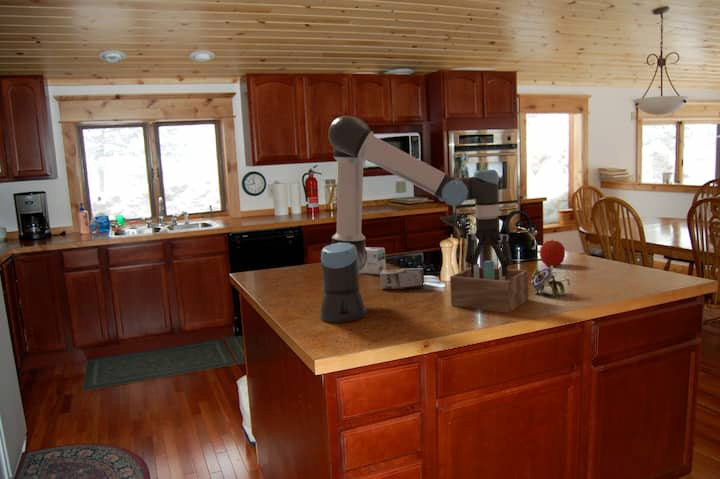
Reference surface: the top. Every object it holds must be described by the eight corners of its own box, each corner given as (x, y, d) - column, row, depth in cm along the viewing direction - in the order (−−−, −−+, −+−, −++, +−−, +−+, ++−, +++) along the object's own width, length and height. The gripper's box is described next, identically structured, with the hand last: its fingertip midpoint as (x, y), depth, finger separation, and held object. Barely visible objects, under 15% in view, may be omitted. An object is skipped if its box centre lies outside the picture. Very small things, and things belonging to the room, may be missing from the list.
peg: (492, 304, 184) (491, 263, 182) (482, 303, 187) (481, 262, 184) (497, 301, 187) (495, 261, 185) (487, 300, 189) (485, 260, 187)
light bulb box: (386, 271, 246) (385, 247, 244) (379, 274, 240) (377, 250, 239) (366, 270, 252) (364, 246, 250) (358, 273, 246) (356, 249, 245)
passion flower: (537, 309, 194) (522, 279, 198) (564, 299, 196) (548, 270, 201) (550, 298, 184) (533, 266, 188) (578, 288, 186) (560, 257, 191)
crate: (508, 312, 174) (507, 281, 173) (451, 305, 186) (450, 276, 185) (528, 299, 187) (527, 270, 186) (473, 293, 200) (472, 266, 198)
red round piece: (568, 267, 230) (568, 240, 229) (544, 268, 231) (544, 241, 229) (560, 262, 240) (560, 236, 239) (537, 264, 241) (536, 237, 239)
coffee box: (380, 289, 214) (422, 289, 210) (379, 273, 213) (421, 272, 209) (384, 284, 222) (424, 283, 219) (383, 268, 222) (423, 267, 218)
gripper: (523, 216, 179) (524, 284, 182) (463, 215, 192) (465, 279, 195) (514, 219, 173) (515, 289, 177) (453, 218, 186) (455, 283, 189)
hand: (489, 284), depth 186 cm, fingers open, 8 cm apart
